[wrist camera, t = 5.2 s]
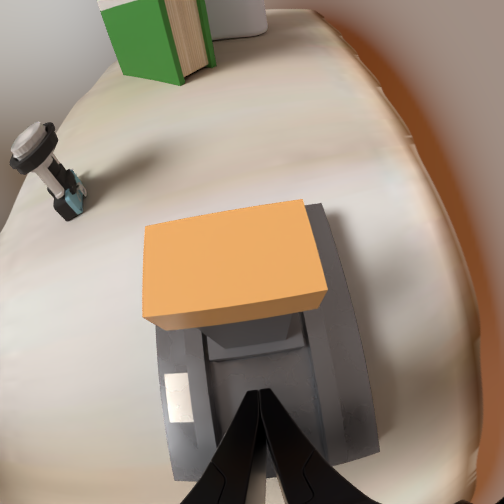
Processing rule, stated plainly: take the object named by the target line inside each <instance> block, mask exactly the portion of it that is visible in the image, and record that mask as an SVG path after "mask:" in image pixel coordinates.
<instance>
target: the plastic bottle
mask: <svg viewBox="0 0 504 504" xmlns="http://www.w3.org/2000/svg"><path fill="white" fill-rule="evenodd" d="M205 4H206V10H207V15H208V21H209V27H210V32H211V38H212V40H220V39H229V38H239V37H251V36H257V35H260V34H263V33H264V32H266V30H267V29H268V24H267V17H266V11H265V5H264V0H205Z"/></svg>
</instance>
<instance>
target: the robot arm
mask: <svg viewBox="0 0 504 504" xmlns="http://www.w3.org/2000/svg"><path fill="white" fill-rule="evenodd" d="M266 440H267V442H266ZM267 444H268V448H269V452H270V455H271V459H272V462H273V466H274V469H275V472H276V476H277V479H278V482H279V486H280V489H281V492H282V495H283V498H284V502H285V504H381V503H378V502H376V501H374V500H372V499H371V498H369V497H368V496H366V495H365V494H363V493H362V492H361V491H360V490H358V489H357V488H356V487H355V486H353V485H352V484H351V483H350V482H349V481H347V480H346V479H345V478H344V477H343V476H341V475H340V474H339V473H338V472H337V471H336V470H335V469H334V468H333V467H332V466H331V465H330V464H329V463H328V462H327V461H326V460H325V459H324V457H323V456H322V455H321V454H320V453H319V451H318V450H317V449H316V448H315V447H314V445H313V444H312V443H311V441H310V440H309V439H308V438H307V436H306V435H305V434H304V432H303V431H302V430H301V429H300V427H299V426H298V425H297V423H296V422H295V421H294V419H293V418H292V417H291V415H290V414H289V413H288V411H287V410H286V409H285V407H284V406H283V405H282V403H281V402H280V400H279V399H278V398H277V396H276V395H275V394H274V392H273V391H272V389H271V388H264V389H260V390H259V391H258V390H249V391H247V392H246V393H245V395H244V397H243V400H242V402H241V404H240V405H239V407H238V409H237V411H236V413H235V415H234V417H233V419H232V421H231V423H230V425H229V427H228V429H227V431H226V433H225V435H224V436H223V438H222V440H221V442H220V444H219V446H218V448H217V450H216V451H215V453H214V455H213V457H212V459H211V462H209V464H208V466H207V467H206V469H205V471H204V472H203V474H202V476H201V477H200V479H199V480H198V482H197V483H196V484H195V486H194V487H193V488H192V490H191V491H190V492H189V494H188V495H187V496H186V497H185V498H184V500H183V501H182V502H181V503H180V504H265V496H266V458H267ZM454 504H472V503H470V502H468V501H465V500H460V501H458V502H456V503H454ZM496 504H504V497H503V498H502V499H501V500H499V501H498V502H497V503H496Z"/></svg>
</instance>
